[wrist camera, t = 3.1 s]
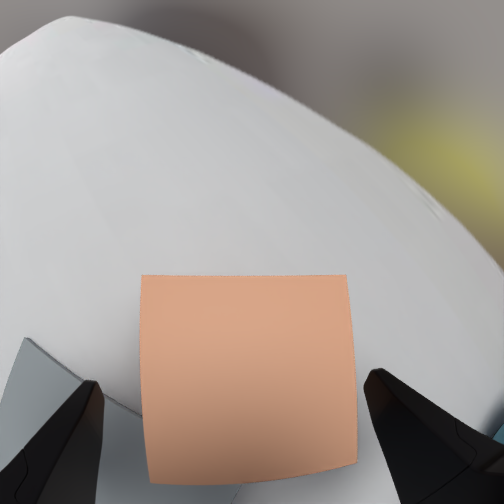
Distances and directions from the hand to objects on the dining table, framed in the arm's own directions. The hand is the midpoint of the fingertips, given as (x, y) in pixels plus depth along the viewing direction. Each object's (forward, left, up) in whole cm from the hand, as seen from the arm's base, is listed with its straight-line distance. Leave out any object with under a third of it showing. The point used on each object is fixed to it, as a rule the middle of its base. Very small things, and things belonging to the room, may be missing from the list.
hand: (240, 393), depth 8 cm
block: (0, 0, -8) cm, 8 cm away
